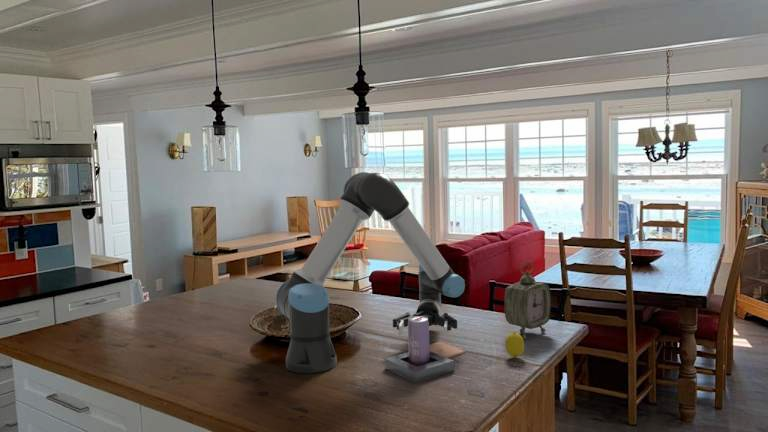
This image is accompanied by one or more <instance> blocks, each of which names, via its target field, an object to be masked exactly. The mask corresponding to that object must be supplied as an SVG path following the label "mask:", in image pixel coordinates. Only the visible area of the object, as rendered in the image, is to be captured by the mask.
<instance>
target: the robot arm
mask: <svg viewBox="0 0 768 432" xmlns="http://www.w3.org/2000/svg"><path fill="white" fill-rule="evenodd" d="M342 191H343V193H342V195H341V197H340V198H339V201H338V202H339V206H340V207H339V208H338V210H337V211H336V213H335V214H334V216H333V218H332V220H331V221H330V223H329V224H328V226H327V227H326V229H325V230H324V233H323V234H322V235H321V237H320V239H318V242H317V244H316V245H315V247H314V248H313V250H312V251H311V253H310V254H309V256H308V258H307V259H306V260H305V262H304V264H303V266H302V267H301V269H296V270H294V271H293V273H292V274H291V275H290V277H289V278H288V280H286V281H284V282H283V283H282V284H280V286H278V288H277V290H276V294H275V304H276V306H277V307H276V308H277V310H278V311H279V313H280V314H283V315H284V316H286V317H287V320H289V334H290V342H289V346H288V349H287V353H286V356H285V367H286V368H285V369H287V370H288V371H289V372H293V373H297V374H316V373H321V372H326V371H329V370H331V369H333V368H334V367H336V365H338V364H337V363H338V362H337V360H338V359H337V357H338V356H337V354H336V351H335V349H334V346H333V345H334V344H333V343H332V340H331V334H330V331H331V330H330V328H331V327H330V305H329V304H330V296H329V292H328V290H327V288H326V287H325V282H326V280H327V278H328V277H329V275H330V274H331V272H332V270H334V268H335V266H336V265H337V262H338V261H339V260H340V257H341V256H342V254H343V253H344V251H345V250H346V248H347V246H348V245H349V243H350V241H351V240H352V238H353V237H354V235H355V233H356V232H357V230H358V228H359V227H360V226H361V224H362V223H363V221H367V220H369V219H371V216H372V215H373V213H374V211H375V212H376V213H377V214H378V215H380V216H381V218H382V219H383V221H385V222H389V224H390V225H391V226H392V228H393V229H394V230H395V232H396V233H397V235H398V236H399V237H400V239H401V240H402V241H403V243H404V244H405V245H406V247H407V249H408V250H409V251H410V253H411V254H412V255H413V257H414V258H415V259H416V261H417V262H418V273H417V274H418V286H419V287H418V288H419V293H418V296H419V297H418V298H419V299H418V300H419V302H418V303H419V304H418V307H417V309H416V311H415V313H414V314H411V313H410V312H409V311H408V312H405V313H403V314H402V315H399V316H397V317H395V318H393V319H392V328H393V329H394V328H396V330H398V336H402V335H403V332H404V330H405V328H408V321H409V320H408V319H409V318H410V317H414V316H424V317H427V318H428V322H429V327H432V326H439V327H442V328H443V337H444V336H445V337H447V335H448V331H450V332H451V331H452V328H453V329H454V330H455V329H458V319H455V318H454V317H452V316H451V315H449V314H448V313H447V312H444V313H443V314H442V315H440V311H441V309H442V298H441V297H442V296H441V295H443V296H446V297H450V298H458V297H460V296H461V295H462V294H463V293H464V291H465V287H466V283H465V280H464V278H463V277H462V276H460V275H459V274H456V273H455V272H454V271H453V269H452V267H450V265H449V264H448V262H447V261H446V260H445V258H444V257H443V256H442V254H441V252H440V251H439V249H438V248H437V246H436V244H435V243H434V242H433V240H432V239H431V238H430V237H429V235H428V234H427V232H426V231H425V230H424V228H423V227H422V225H421V224H420V222H419V221H418V219H417V218H416V216H415V215H414V213H413V212H412V211H411V209H410V208H409V207H410V202H409V200H408V199H407V197H406V196H405V195H404V193H403V192H402V190H401V189H400V188H399V187H398V185H397V184H396V183H395V181H393V179H392V178H390V177H389V176H388V175H387V174H384V173H382V172H367V171H366V172H364V171H362V172H359V173H356V174H353V175H352V176H350V177H349V178H348V179H347V180H346V181H345V183H344V185H343V190H342Z"/></svg>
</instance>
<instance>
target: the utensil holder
mask: <svg viewBox="0 0 768 432" xmlns="http://www.w3.org/2000/svg"><path fill="white" fill-rule="evenodd" d="M276 308H278V307H277V305H275V306H274V310H277V309H276ZM277 313H278V314H277ZM271 319H272V322H271V330H272V329H273V330H279V331H286V330H289V331H290V322H289V321H288V320H289V319H288V318H287V317H286V316H284V315H283V314H282V313H280V311H279V310H277V311H274V314H273V316H272V318H271Z"/></svg>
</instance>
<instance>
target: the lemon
mask: <svg viewBox="0 0 768 432" xmlns="http://www.w3.org/2000/svg"><path fill="white" fill-rule="evenodd" d="M521 336H522V334H519V333H517V332H516V331H513V332H511V333H509V334H508V336H506V339H505V343H504V346H505V350H506V353H507V354H508V355H509V356H511V357H512V358H513V359H517V358H518V357H519V356H521V355H522V354H523V353H524V349H525V341H524V339H523V338H522V337H521Z"/></svg>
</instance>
